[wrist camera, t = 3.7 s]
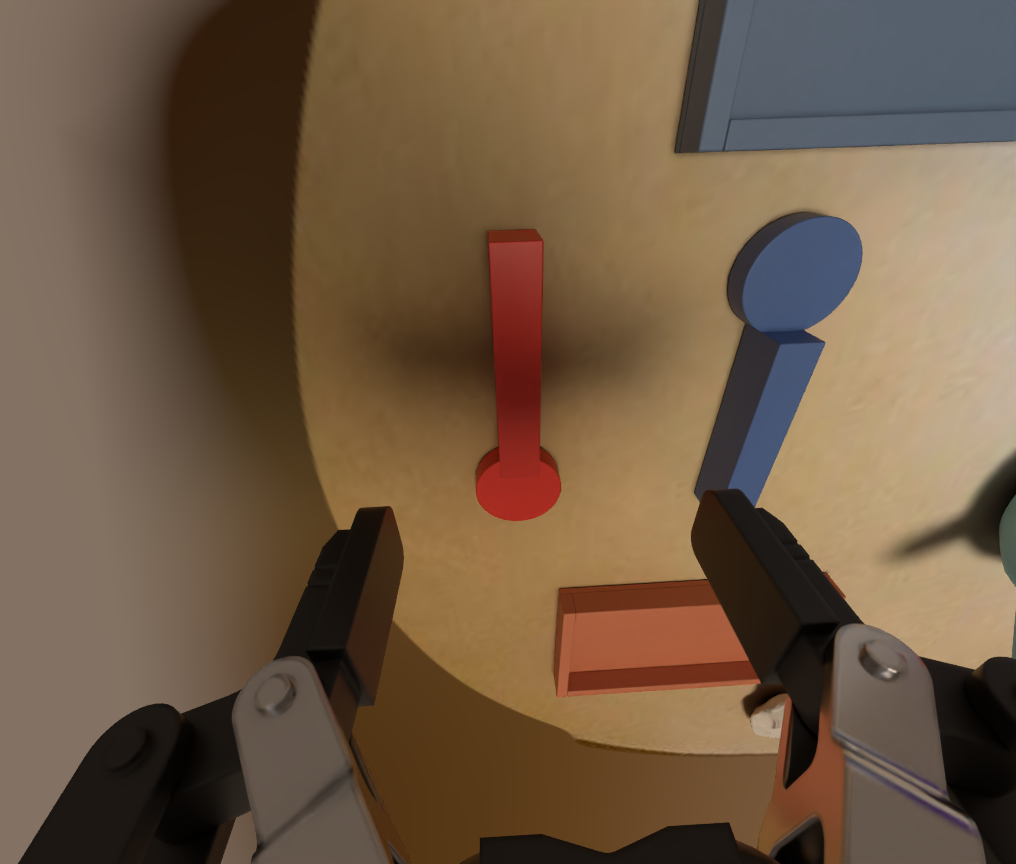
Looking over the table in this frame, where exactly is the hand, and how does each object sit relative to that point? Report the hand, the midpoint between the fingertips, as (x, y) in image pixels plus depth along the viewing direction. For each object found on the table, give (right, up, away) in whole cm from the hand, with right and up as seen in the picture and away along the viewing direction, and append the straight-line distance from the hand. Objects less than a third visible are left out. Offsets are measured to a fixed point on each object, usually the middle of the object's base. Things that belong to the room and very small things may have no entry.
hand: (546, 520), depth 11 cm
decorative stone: (+24, -23, +29) cm, 44 cm away
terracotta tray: (+12, -13, +21) cm, 27 cm away
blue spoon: (+10, +5, +8) cm, 14 cm away
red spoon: (-1, +4, +9) cm, 10 cm away
